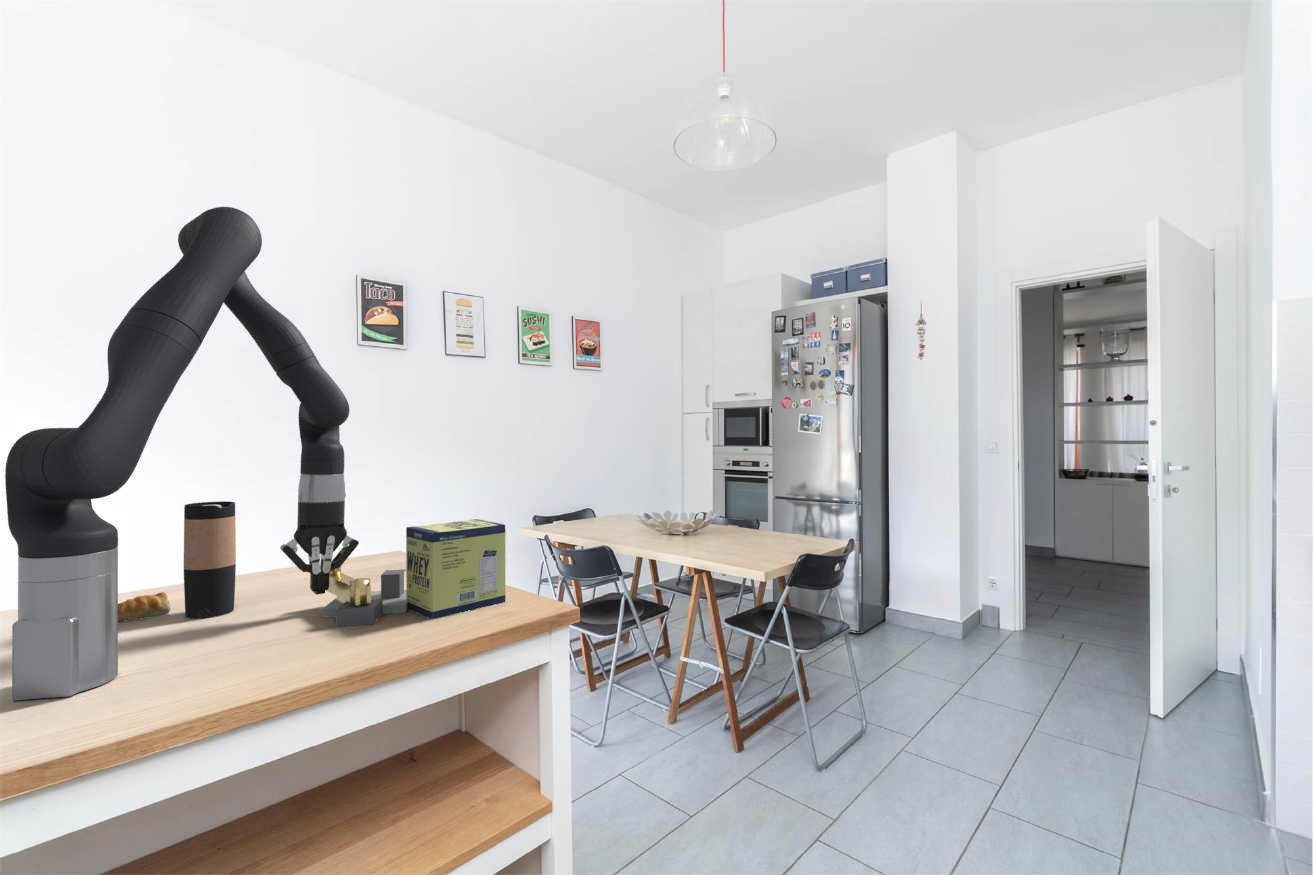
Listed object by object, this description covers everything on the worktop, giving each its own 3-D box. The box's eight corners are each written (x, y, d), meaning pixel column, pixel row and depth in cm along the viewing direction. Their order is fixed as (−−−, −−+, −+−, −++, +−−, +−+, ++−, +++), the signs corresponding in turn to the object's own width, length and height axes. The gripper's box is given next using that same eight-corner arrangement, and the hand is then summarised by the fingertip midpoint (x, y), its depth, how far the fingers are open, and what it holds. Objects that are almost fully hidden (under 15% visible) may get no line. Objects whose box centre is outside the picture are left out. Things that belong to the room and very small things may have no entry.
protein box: (404, 609, 111) (404, 526, 111) (478, 593, 123) (478, 518, 123) (431, 620, 104) (431, 532, 104) (507, 602, 116) (507, 523, 116)
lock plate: (398, 622, 103) (398, 587, 103) (310, 627, 100) (310, 592, 100) (417, 596, 119) (417, 566, 119) (342, 600, 117) (342, 570, 117)
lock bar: (373, 602, 104) (373, 574, 104) (353, 606, 102) (353, 577, 102) (342, 587, 115) (342, 561, 115) (324, 590, 112) (324, 564, 112)
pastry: (104, 627, 101) (104, 605, 101) (95, 621, 105) (95, 599, 105) (173, 614, 108) (173, 593, 108) (162, 608, 112) (162, 588, 112)
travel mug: (190, 609, 110) (190, 502, 110) (239, 605, 113) (240, 500, 114) (177, 621, 103) (177, 506, 103) (230, 615, 107) (230, 504, 107)
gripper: (355, 495, 116) (352, 584, 116) (276, 498, 108) (273, 594, 107) (366, 498, 111) (364, 591, 110) (284, 502, 102) (281, 603, 102)
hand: (319, 593), depth 109 cm, fingers closed
